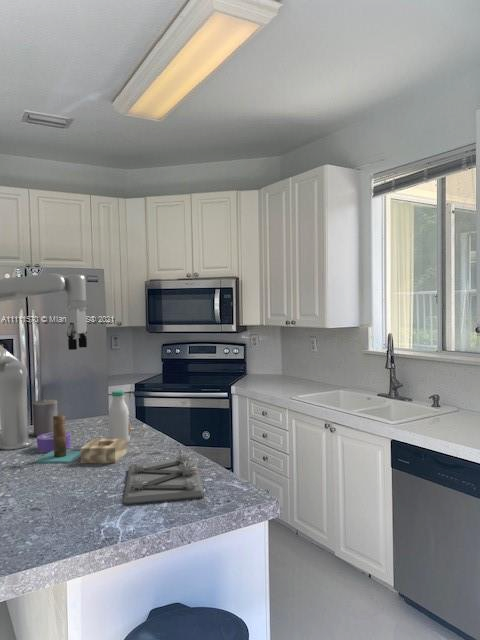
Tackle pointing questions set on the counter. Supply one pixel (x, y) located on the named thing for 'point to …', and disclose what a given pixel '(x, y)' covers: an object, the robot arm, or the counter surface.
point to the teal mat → (66, 459)
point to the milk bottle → (119, 418)
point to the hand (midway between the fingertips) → (77, 348)
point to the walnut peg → (59, 436)
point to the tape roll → (50, 442)
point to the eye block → (103, 451)
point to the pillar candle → (44, 416)
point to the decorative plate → (163, 481)
